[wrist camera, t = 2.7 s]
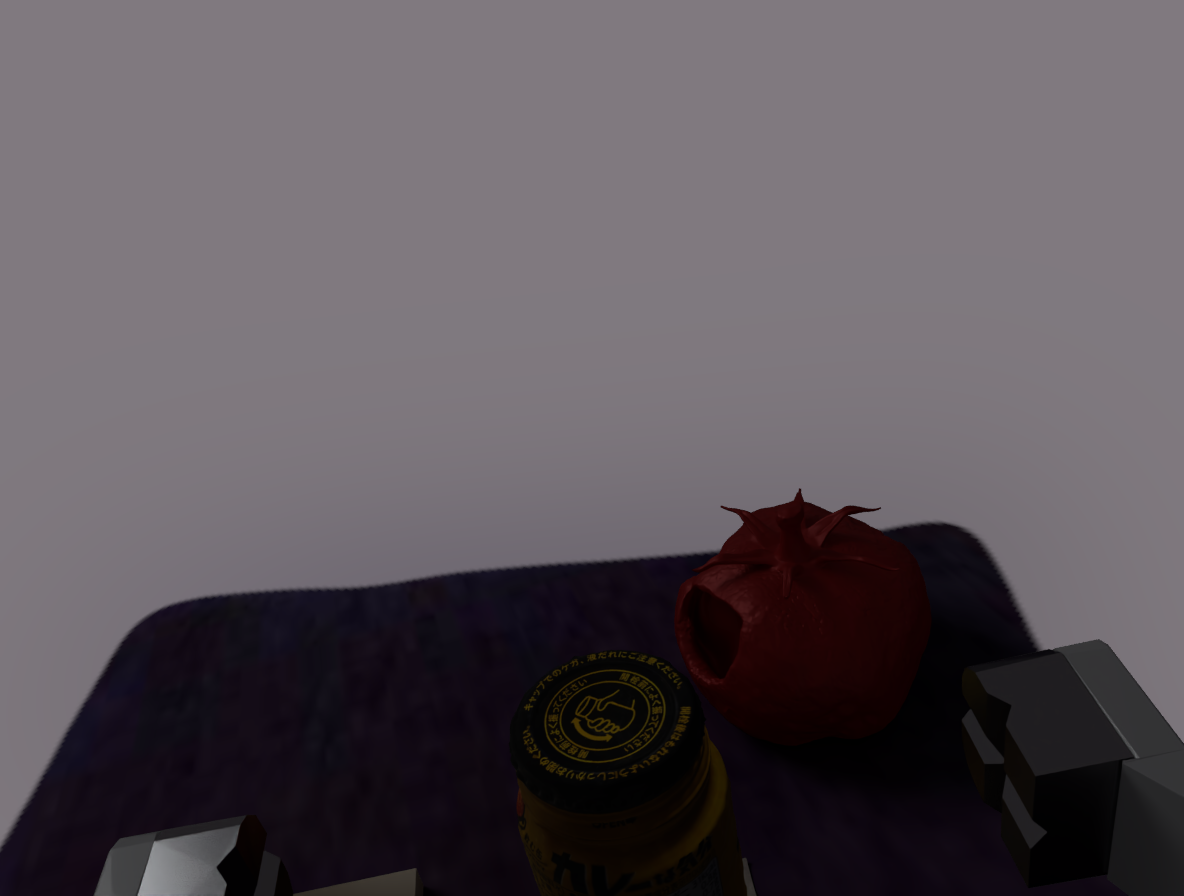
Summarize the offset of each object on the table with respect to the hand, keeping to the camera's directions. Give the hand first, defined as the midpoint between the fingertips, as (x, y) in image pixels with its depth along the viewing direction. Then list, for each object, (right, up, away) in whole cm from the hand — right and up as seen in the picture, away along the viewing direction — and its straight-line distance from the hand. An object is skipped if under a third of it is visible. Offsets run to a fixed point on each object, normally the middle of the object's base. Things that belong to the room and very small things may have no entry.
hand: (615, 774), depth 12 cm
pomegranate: (+9, -6, +32) cm, 33 cm away
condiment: (+2, -14, +21) cm, 26 cm away
